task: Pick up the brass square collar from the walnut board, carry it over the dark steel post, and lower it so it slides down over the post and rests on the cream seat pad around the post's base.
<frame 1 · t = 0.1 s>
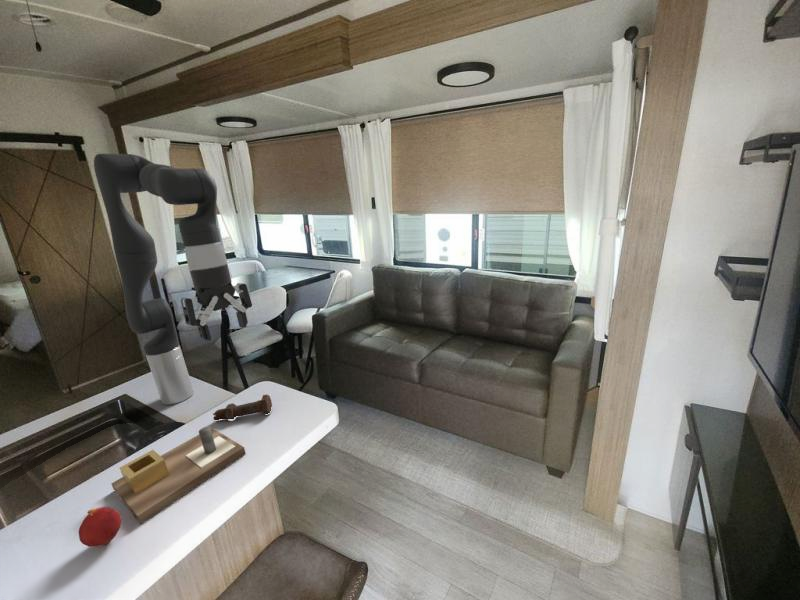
hand: (226, 333, 81), 29 cm above the counter, tool pointing down, fingers open, 8 cm apart
bolt: (244, 417, 101), on the counter
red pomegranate: (107, 543, 64), on the counter
post board: (182, 471, 81), on the counter
collar: (147, 478, 77), point 2 cm above the counter, touching post board
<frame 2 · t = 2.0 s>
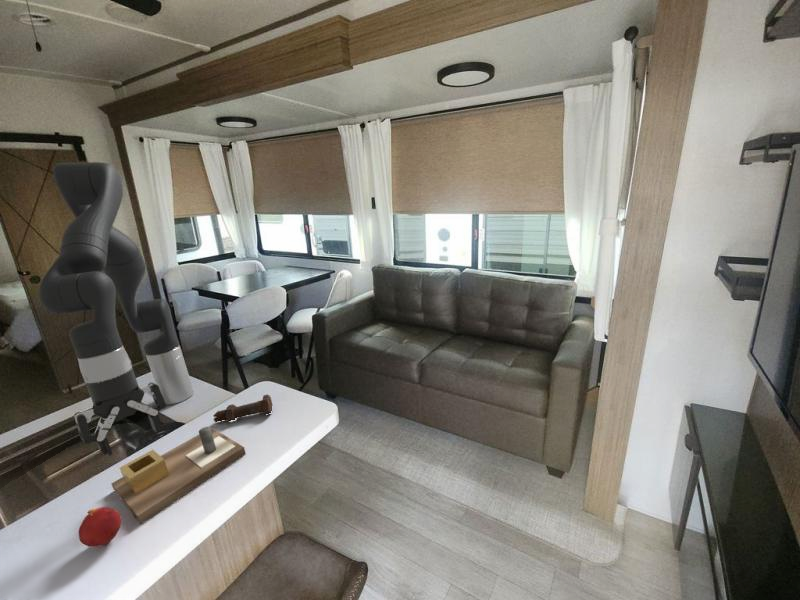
hand: (133, 441, 74), 12 cm above the counter, tool pointing down, fingers open, 8 cm apart
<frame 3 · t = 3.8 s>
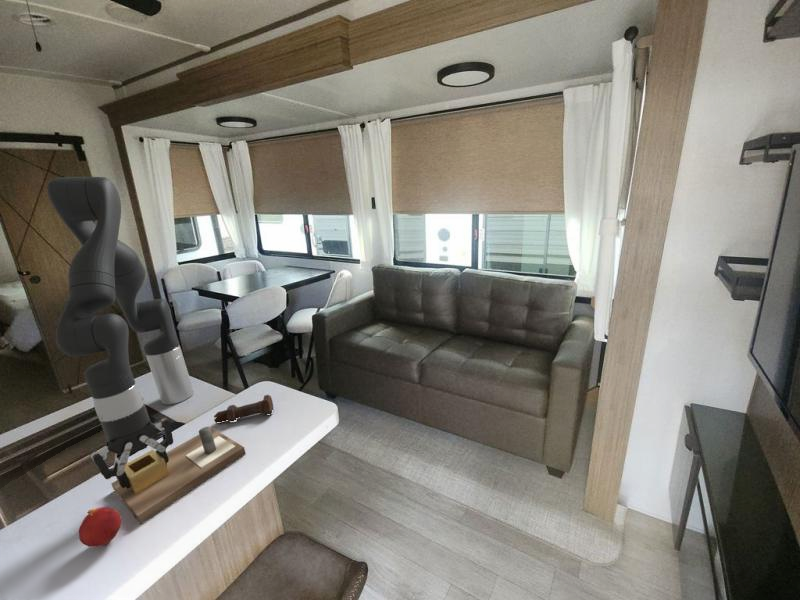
hand: (146, 475, 77), 3 cm above the counter, tool pointing down, fingers closed on collar, 6 cm apart
collar: (147, 478, 77), point 2 cm above the counter, touching gripper, post board
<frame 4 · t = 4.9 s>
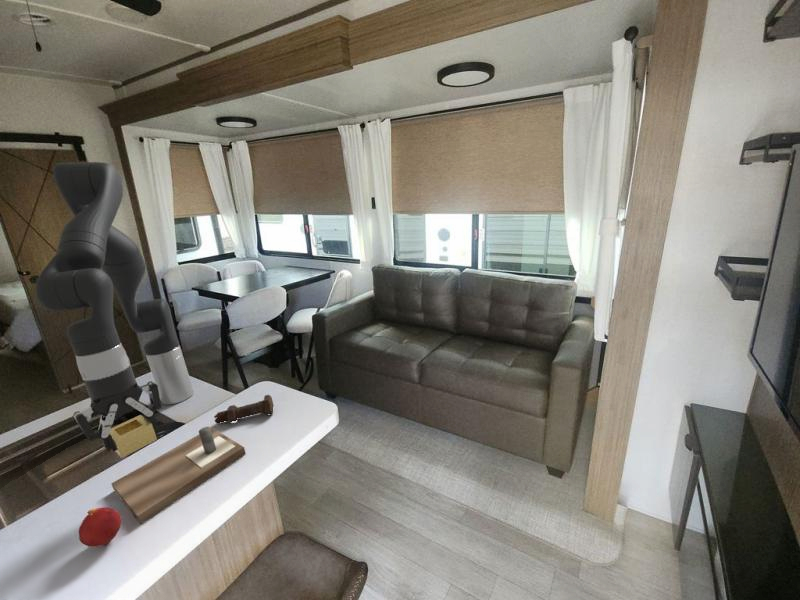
hand: (133, 439, 74), 12 cm above the counter, tool pointing down, fingers closed on collar, 6 cm apart
collar: (134, 443, 75), point 11 cm above the counter, touching gripper
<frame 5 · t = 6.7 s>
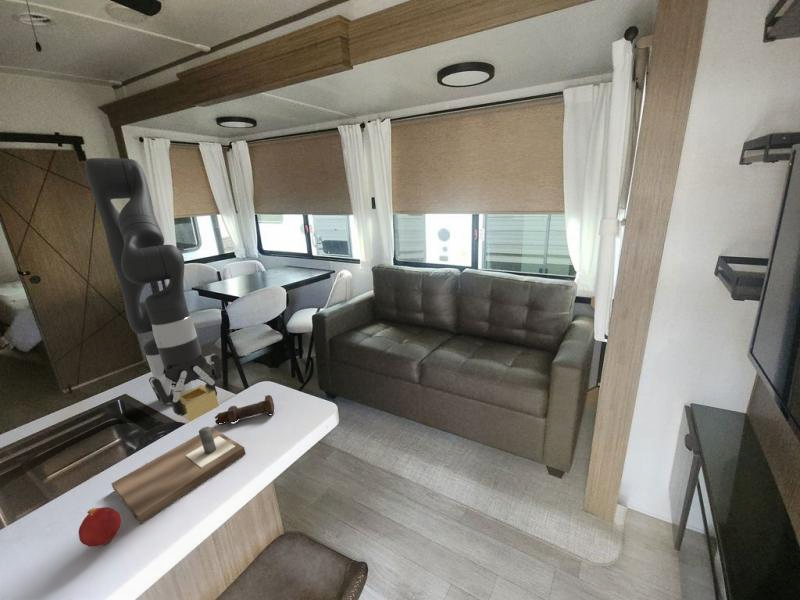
hand: (197, 406, 80), 14 cm above the counter, tool pointing down, fingers closed on collar, 6 cm apart
collar: (198, 409, 80), point 13 cm above the counter, touching gripper
when the fingers open (5 cm above the counter, at t = 9.6 s): collar drops 2 cm, resting on post board.
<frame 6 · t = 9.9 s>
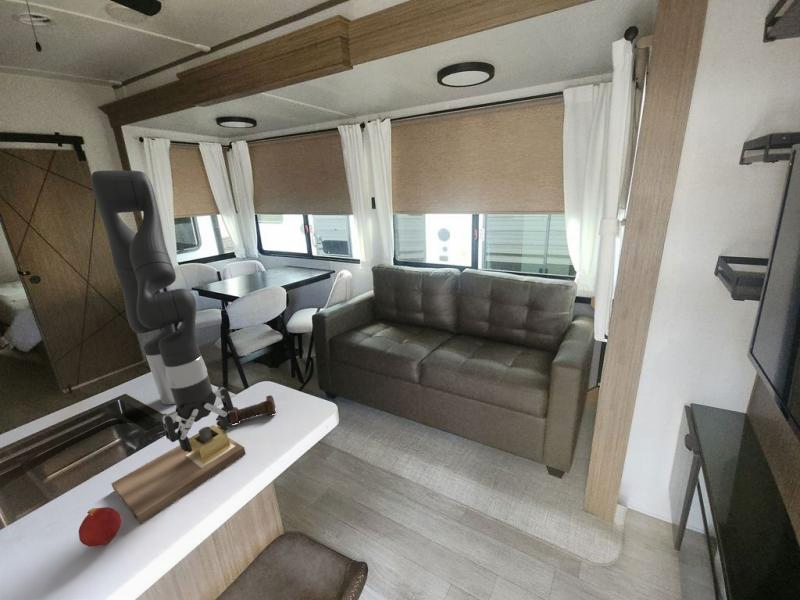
hand: (207, 439, 83), 5 cm above the counter, tool pointing down, fingers open, 8 cm apart
collar: (210, 450, 84), point 2 cm above the counter, touching post board
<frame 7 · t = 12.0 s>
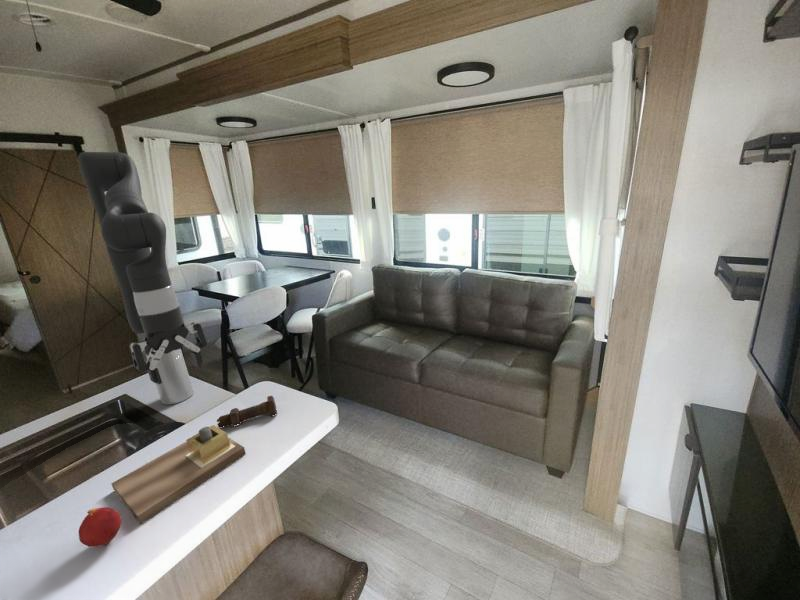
hand: (179, 374, 81), 21 cm above the counter, tool pointing down, fingers open, 8 cm apart
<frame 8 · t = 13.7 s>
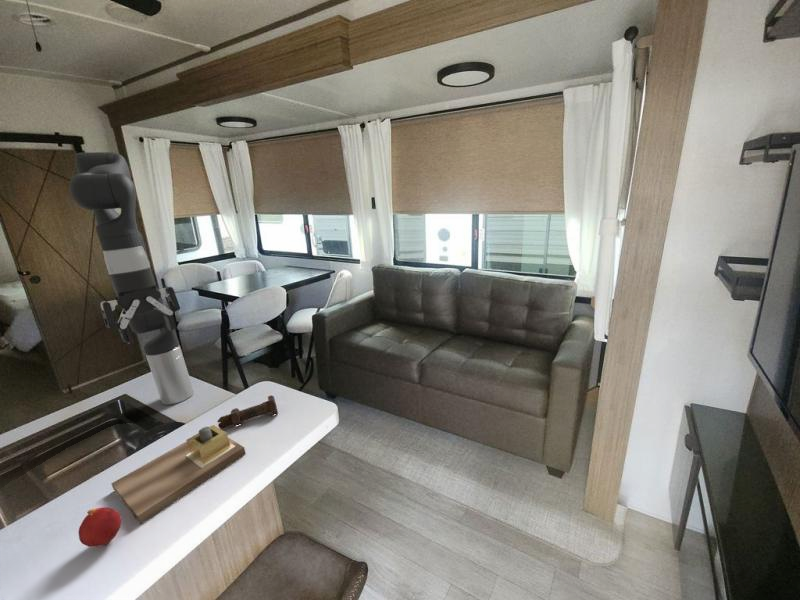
hand: (151, 336, 82), 30 cm above the counter, tool pointing down, fingers open, 8 cm apart
at the end: collar 0.0 cm from the target spot on the post board, point 2.2 cm above the post board's base; collar tilted 0°; the gripper is holding nothing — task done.
